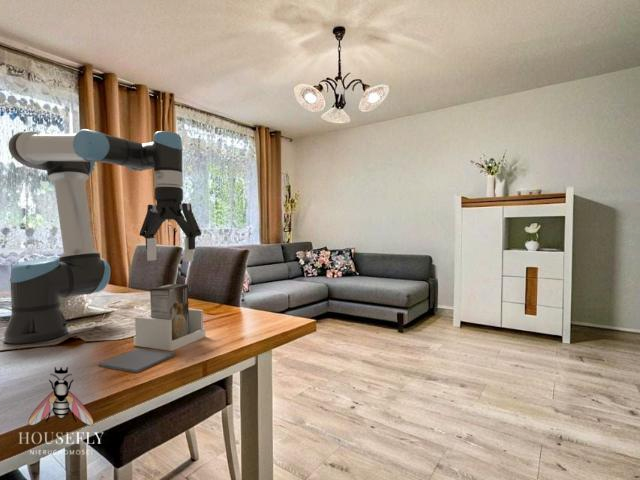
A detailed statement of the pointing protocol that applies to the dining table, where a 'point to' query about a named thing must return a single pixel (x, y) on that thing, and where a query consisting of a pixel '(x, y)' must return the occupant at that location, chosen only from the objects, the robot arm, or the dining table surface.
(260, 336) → the dining table surface
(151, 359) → the mat
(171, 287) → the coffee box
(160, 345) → the open holder
